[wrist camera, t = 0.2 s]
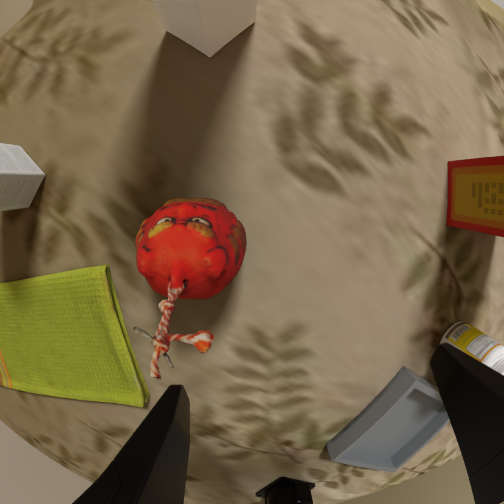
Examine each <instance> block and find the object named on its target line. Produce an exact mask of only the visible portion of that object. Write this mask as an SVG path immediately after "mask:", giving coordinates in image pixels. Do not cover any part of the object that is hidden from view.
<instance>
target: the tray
mask: <svg viewBox="0 0 504 504" xmlns="http://www.w3.org/2000/svg"><path fill="white" fill-rule="evenodd" d="M449 421H450V420H449V417H448V415H447V412H446V409H445V407H444V405H443V402H442V399H441V397H440V394H439V390H438V387H437V386H436V385H434V384H433V383H431V382H429V381H428V380H426V379H424V378H423V377H421V376H419V375H418V374H416V373H414V372H413V371H411V370H409V369H408V368H406V367H405V366H403V367H402V369H401V370H400V371H399V372H398V373H397V375H396V376H395V377H394V378H393V379H392V380H391V381H390V383H389V384H388V385H387V386H386V387H385V388H384V389H383V390H382V391H381V392H380V393H379V395H378V396H377V397H376V398H375V399H374V400H373V401H372V402H371V403H370V404H369V405H368V406H367V407H366V408H365V409H364V410H363V411H362V412H361V413H360V414H359V415H358V416H357V417H356V418H355V419H354V420H353V421H352V422H350V423H349V424H348V425H347V426H346V427H345V428H344V429H343V430H342V431H341V432H340V433H338V434H337V435H336V436H335V437H334V438H333V439H331V440H330V441H329V442H328V443H327V444H326V446H327V449H328V452H329V455H330V458H331V461H334V462H338V463H343V464H348V465H353V466H358V467H363V468H369V469H375V470H382V471H389V472H395V471H396V470H398V469H399V468H400V467H401V466H403V465H404V464H405V463H406V462H407V461H409V460H410V459H411V458H412V457H413V456H414V455H415V454H417V453H418V452H419V451H420V450H421V449H422V448H423V447H424V446H425V445H426V444H427V443H429V442H430V441H431V440H432V439H433V438H434V437H435V436H436V435H437V434H438V433H439V432H440V431H441V430H442V429H443V428H444V427H445V426H446V425H447V423H448V422H449Z"/></svg>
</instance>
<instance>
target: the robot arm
mask: <svg viewBox="0 0 504 504" xmlns="http://www.w3.org/2000/svg"><path fill="white" fill-rule="evenodd" d="M430 365H431V368H432V371H433V374H434V378H435V381H436V384H437V387H438V390H439V394H440V397H441V399H442V402H443V405H444V407H445V409H446V412H447V415H448V417H449V420H450V422H451V425H452V428H453V430H454V433H455V436H456V439H457V442H458V445H459V448H460V451H461V454H462V457H463V460H464V463H465V466H466V470H467V473H468V476H469V481H470V484H471V488H472V492H473V496H474V501H475V504H499V503H501V502H503V501H504V375H502V374H501V373H499V372H497V371H495V370H494V369H492V368H490V367H489V366H487V365H485V364H484V363H482V362H480V361H478V360H477V359H475V358H473V357H472V356H470V355H468V354H466V353H465V352H463V351H461V350H459V349H458V348H456V347H454V346H453V345H451V344H449V343H447V342H445V343H441V344H439V345H437V346H436V348H435V351H434V353H433V355H432V357H431V360H430ZM189 446H190V402H189V398H188V396H187V393H186V391H185V388H184V386H183V385H170V386H169V387H168V388H167V390H166V391H165V392H164V394H163V395H162V396H161V398H160V399H159V400H158V402H157V403H156V404H155V406H154V407H153V408H152V410H151V411H150V412H149V414H148V415H147V416H146V418H145V419H144V420H143V421H142V423H141V424H140V425H139V427H138V428H137V429H136V431H135V432H134V433H133V435H132V436H131V437H130V439H129V440H128V441H127V442H126V444H125V445H124V446H123V448H122V449H121V450H120V452H119V453H118V454H117V455H116V457H115V458H114V460H112V462H111V463H110V464H109V466H108V467H107V468H106V469H105V471H104V472H103V473H102V474H101V475H100V477H99V478H98V479H97V480H96V481H95V482H94V483H93V484H92V485H91V486H90V487H89V488H88V489H87V490H86V491H85V492H84V493H83V494H82V495H81V496H80V497H79V498H78V499H76V500H75V501H74V503H72V504H183V503H184V492H185V483H186V473H187V464H188V455H189ZM314 487H315V484H314V483H309V482H304V481H299V480H295V479H290V478H286V477H280V478H279V479H277V480H276V481H274V482H273V483H271V484H270V485H268V486H267V487H265V488H264V489H262V490H260V491H259V492H257V493H256V496H257V497H261V498H265V504H313V500H312V496H311V491H310V490H311V489H313V488H314Z"/></svg>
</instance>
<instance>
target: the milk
mask: <svg viewBox="0 0 504 504" xmlns="http://www.w3.org/2000/svg"><path fill="white" fill-rule="evenodd" d="M152 2H153V4H154V6H155V8H156V11H157V13H158V15H159V17H160V19H161V21H162V23H163V25H164V27H165V29H166V31H168V32H169V33H171V34H173V35H175V36H176V37H178V38H180V39H181V40H183V41H185V42H186V43H188V44H189V45H191V46H193V47H194V48H196V49H197V50H199V51H201V52H202V53H204V54H205V55H207V56H208V57H212V56H213V55H214V54H215V53H216V52H217V51H219V50H220V49H221V48H222V47H223V46H225V45H226V44H227V43H228V42H229V41H231V40H232V39H233V38H234V37H236V36H237V35H238V34H240V33H241V32H242V31H243V30H245V29H246V28H247V27H249V26H250V25H251V24H253V23H254V22H255V20H256V7H257V0H152Z"/></svg>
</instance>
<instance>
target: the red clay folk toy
mask: <svg viewBox="0 0 504 504" xmlns="http://www.w3.org/2000/svg"><path fill="white" fill-rule="evenodd" d="M246 244H247V242H246V233H245V229H244V227H243V225H242V223H241V222H240V221H239V220H237V218H236V217H235V215H234V214H233V213H232V212H229V211H228V209H227V208H226V206H225V205H224V204H223V203H221V202H219V201H217V200H214V199H208V198H195V199H189V198H175V199H171V200H168V201H167V202H166V203H165V204H164V205H163V206H162V207H161V208H159V209H158V210H156V211H155V213H154V214H153V216H151V217H149V218H147V219H145V220H144V221H143V222H142V224H141V226H140V228H139V231H138V233H137V235H136V238H135V245H136V252H137V267H138V271H139V272H140V273H141V274H142V275H143V276H145V278H146V279H147V281H148V283H149V285H150V286H151V288H152V289H153V290H154V291H155V292H157V293H159V294H161V295H163V296H165V297H168V300H162V301H161V302H160V303H159V308H160V311H161V313H163V315H162V318H161V320H160V323H159V326H158V328H157V331H156V333H155V336H154V337H152V336H150V335H149V334H148V333H147V332H146V331H143V330H141V329H139V328H137V327H134V332H137V333H140V334H142V335H144V336H146V337H147V338H148V339H149V341H150V343H152V346H153V347H154V348H155V350H154V353H153V356H152V359H151V377H155V378H157V379H158V380H160V379H161V375H160V372H159V367H157V365H158V359H159V357H160V356H161V355H162V354H163V355H164V357H165V358H166V360H167V362H168V364H169V366H170V368H173V367H174V366H173V364H172V362H171V360H170V358H169V356H168V355H167V354H166V352H168V350H169V346H170V341H173V340H181V341H183V342H186V343H190V344H193V345H195V347H196V348H197V350H198V351H199V352H201V353H206V352H207V350H208V349H209V348H210V347H211V345H212V342H213V340H214V338H213V334H212V333H211V331H203V330H200V331H198V332H197V333H195V334H178V333H174V334H170V331H169V323H170V319H171V313H172V312H173V311H174V308H175V303H174V302H175V300H176V299H177V298H180V299H207V298H210V297H213V296H215V295H216V294H218V293H219V292H221V291H223V289H224V288H225V287H226V286H227V285H228V284H230V283H231V281H232V279H233V278H234V277H235V275H236V274H237V273H238V271H239V269H240V267H241V265H242V262H243V258H244V255H245V251H246Z"/></svg>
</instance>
